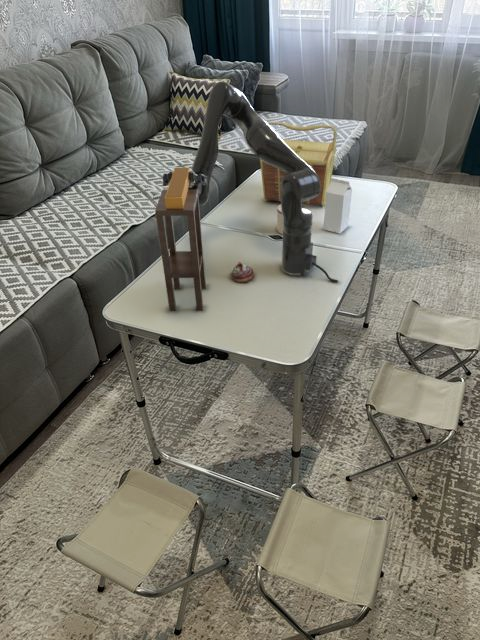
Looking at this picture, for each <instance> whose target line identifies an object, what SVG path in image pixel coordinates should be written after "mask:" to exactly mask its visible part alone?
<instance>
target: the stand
mask: <svg viewBox="0 0 480 640" xmlns="http://www.w3.org/2000/svg"><path fill="white" fill-rule="evenodd" d="M167 190H168V189H162V190H161V193H160V196H159V199H158V201H157V205H156V207H155V210H154V212H155V219H156V225H157V232H158V233H157V234H158V240H159V241H158V242H159V247H160V254H161V261H162V269H163V275H164V282H165V288H166V295H167V302H168V310H169V312H175V311H177V304H176V295H175V290H180V289H181V279H193V288H194V297H195V306H196V311H198V312H199V311H204V301H203V300H204V299H203V291H202V290H204V289H205V290H206V287H207V284H206V283H207V281H206V269H205V259H204V248H203V234H202V223H201V222H202V221H201V210H200V205H199V198H198V190H188V192H187V196H186V200H185V204H184V208H183V209H166V204H165V196H166V193H167ZM183 216H184V217H186V219H187V228H188V237H189V246H190V247H189V248H190V250H177V245H176V237H175V229H174V221H173V217H183Z"/></svg>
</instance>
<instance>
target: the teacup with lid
mask: <svg viewBox="0 0 480 640" xmlns="http://www.w3.org/2000/svg"><path fill="white" fill-rule="evenodd" d="M276 211H277V227H276V228H277V229H276V230H277V232H278V233H279V234H280V235H283V215H282V211H281V204H279V205H278V206H277V209H276Z"/></svg>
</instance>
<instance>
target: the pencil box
mask: <svg viewBox="0 0 480 640" xmlns="http://www.w3.org/2000/svg"><path fill="white" fill-rule="evenodd" d="M190 171H191V167H174V169H173V171H172V173H173V175H172V178H171V181H170V183H169V185H168V187H167V189H166V190H167V193H166V196H165V204H166V209H183V208H184V204H185V200H186V196H187V192H188V187H189V183H190V180H189V172H190Z"/></svg>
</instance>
